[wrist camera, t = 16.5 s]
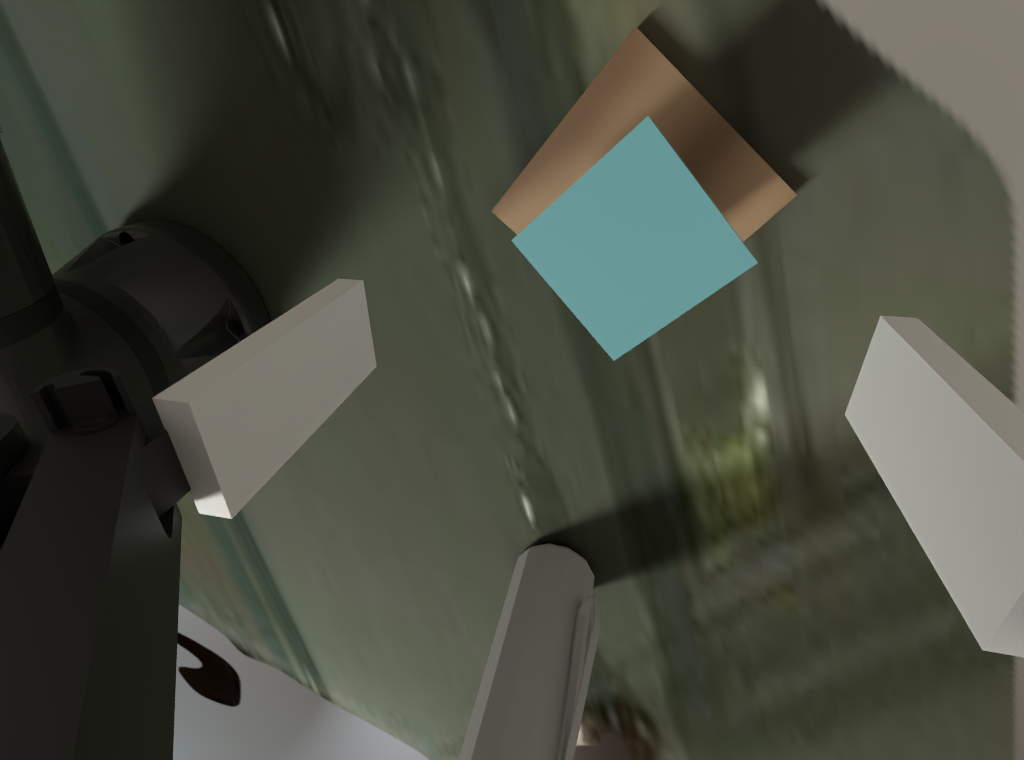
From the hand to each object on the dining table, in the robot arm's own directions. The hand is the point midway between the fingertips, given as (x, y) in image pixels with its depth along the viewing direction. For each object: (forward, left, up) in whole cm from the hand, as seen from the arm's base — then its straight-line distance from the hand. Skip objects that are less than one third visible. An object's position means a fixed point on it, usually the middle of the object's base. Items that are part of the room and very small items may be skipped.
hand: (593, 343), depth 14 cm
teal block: (+1, 0, -15) cm, 15 cm away
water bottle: (+18, -26, -20) cm, 38 cm away
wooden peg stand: (0, 0, -20) cm, 20 cm away
